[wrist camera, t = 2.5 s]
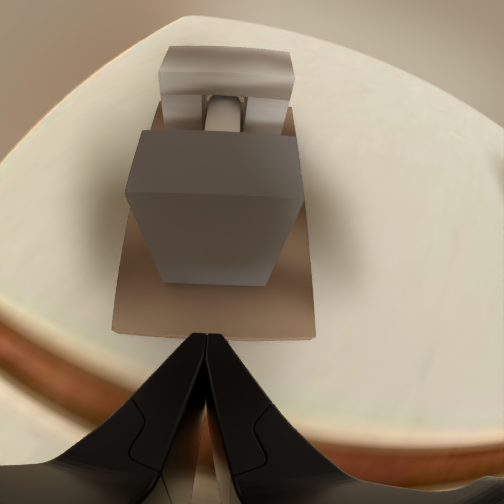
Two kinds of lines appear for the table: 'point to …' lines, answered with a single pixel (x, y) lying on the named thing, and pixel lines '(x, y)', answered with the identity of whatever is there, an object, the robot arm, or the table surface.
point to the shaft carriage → (215, 199)
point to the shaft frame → (296, 246)
